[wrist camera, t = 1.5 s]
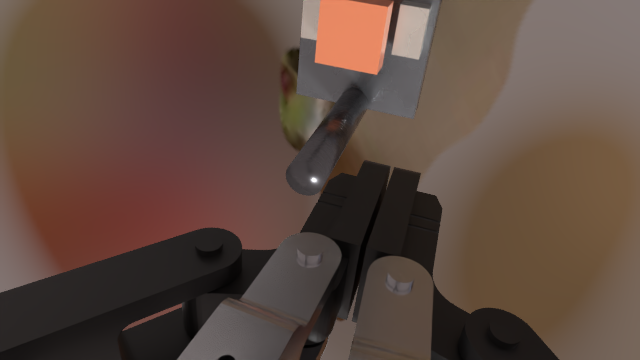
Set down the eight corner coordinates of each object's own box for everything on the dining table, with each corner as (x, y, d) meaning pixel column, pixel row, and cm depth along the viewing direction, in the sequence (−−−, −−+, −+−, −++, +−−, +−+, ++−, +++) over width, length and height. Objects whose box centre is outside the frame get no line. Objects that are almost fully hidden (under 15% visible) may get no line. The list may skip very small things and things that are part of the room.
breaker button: (339, -16, 33) (320, -5, 30) (399, -6, 32) (388, 7, 29) (332, 45, 36) (314, 62, 32) (388, 55, 35) (376, 74, 31)
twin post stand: (322, -113, 33) (224, -117, 21) (463, -97, 31) (446, -90, 19) (305, 93, 42) (229, 175, 30) (415, 116, 40) (382, 215, 28)
